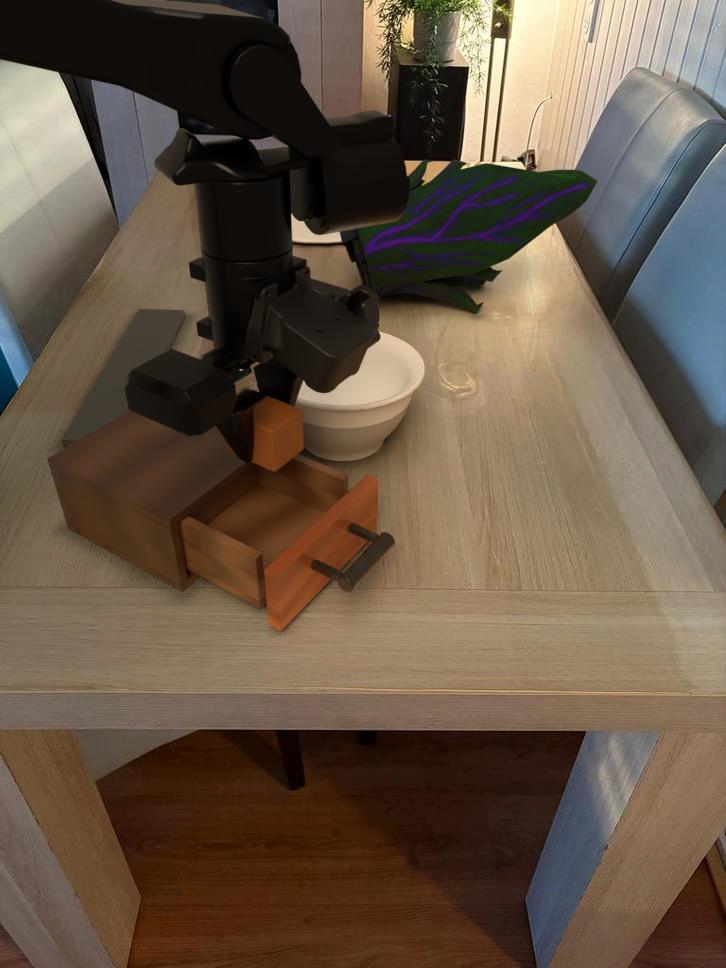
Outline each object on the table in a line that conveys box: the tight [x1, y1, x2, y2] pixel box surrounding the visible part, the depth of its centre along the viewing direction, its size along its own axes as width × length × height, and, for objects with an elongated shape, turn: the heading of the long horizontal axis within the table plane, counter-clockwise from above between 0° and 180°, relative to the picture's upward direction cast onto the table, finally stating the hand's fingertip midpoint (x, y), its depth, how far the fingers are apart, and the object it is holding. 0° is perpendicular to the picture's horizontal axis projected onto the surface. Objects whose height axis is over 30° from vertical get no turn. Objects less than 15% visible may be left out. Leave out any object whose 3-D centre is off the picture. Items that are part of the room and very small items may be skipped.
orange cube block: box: [226, 396, 305, 472], centre depth 55 cm, size 5×4×4 cm
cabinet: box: [46, 410, 255, 593], centre depth 65 cm, size 14×15×8 cm
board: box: [61, 308, 186, 448], centre depth 86 cm, size 30×6×1 cm, turn 179°
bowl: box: [295, 331, 426, 462], centre depth 74 cm, size 16×16×8 cm
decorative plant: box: [340, 158, 598, 314], centre depth 99 cm, size 21×26×30 cm
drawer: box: [178, 453, 396, 632], centre depth 60 cm, size 16×13×6 cm
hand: (262, 448), depth 56 cm, fingers closed on orange cube block, 3 cm apart
